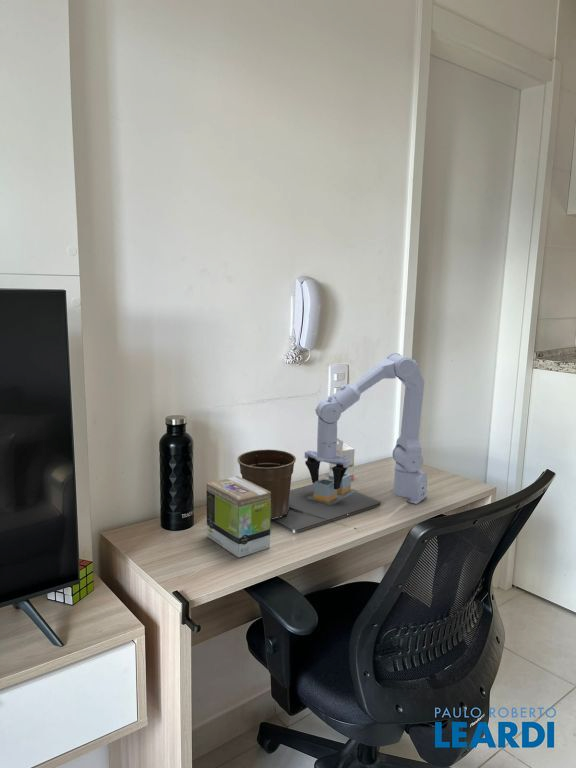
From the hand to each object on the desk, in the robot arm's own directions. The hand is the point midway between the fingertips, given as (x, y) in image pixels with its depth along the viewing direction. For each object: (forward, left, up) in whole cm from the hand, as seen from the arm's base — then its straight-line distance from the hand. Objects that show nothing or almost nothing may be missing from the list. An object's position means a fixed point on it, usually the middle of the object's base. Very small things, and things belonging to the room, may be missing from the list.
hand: (325, 485), depth 172 cm
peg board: (0, -4, -5) cm, 6 cm away
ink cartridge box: (+6, -19, -5) cm, 21 cm away
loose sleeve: (0, 0, -4) cm, 4 cm away
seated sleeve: (0, -8, -4) cm, 9 cm away
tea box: (+3, +36, -5) cm, 37 cm away
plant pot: (+9, +17, -5) cm, 20 cm away
